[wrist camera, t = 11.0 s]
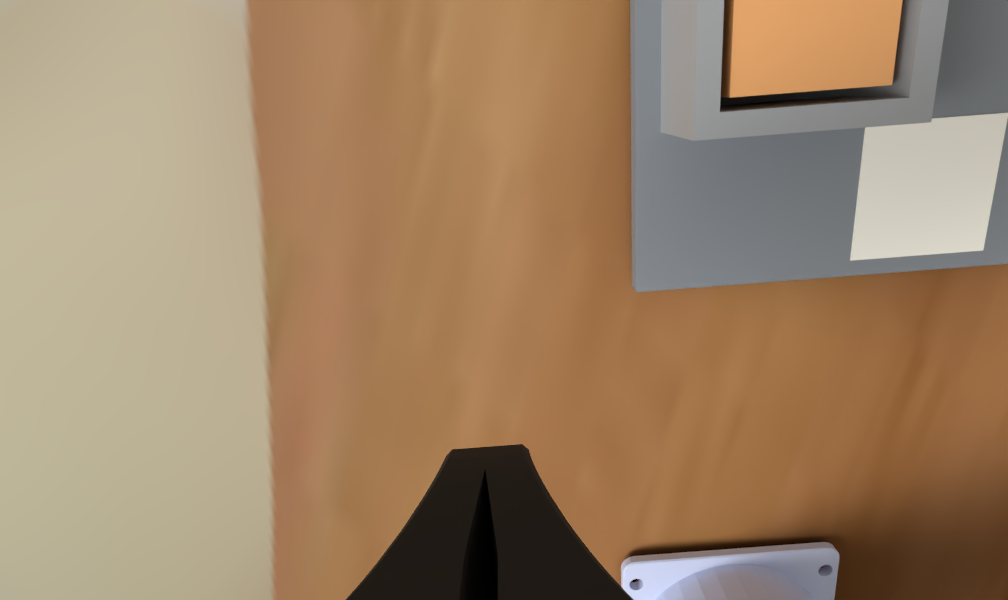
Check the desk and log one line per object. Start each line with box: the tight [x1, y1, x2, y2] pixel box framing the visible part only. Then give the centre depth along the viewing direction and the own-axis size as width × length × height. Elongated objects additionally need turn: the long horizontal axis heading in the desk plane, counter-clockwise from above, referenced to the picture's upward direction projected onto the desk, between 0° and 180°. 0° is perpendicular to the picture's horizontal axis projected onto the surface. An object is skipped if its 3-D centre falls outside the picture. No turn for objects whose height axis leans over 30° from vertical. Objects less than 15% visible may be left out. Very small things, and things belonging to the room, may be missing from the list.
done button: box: [721, 0, 903, 98], centre depth 15 cm, size 4×4×2 cm
